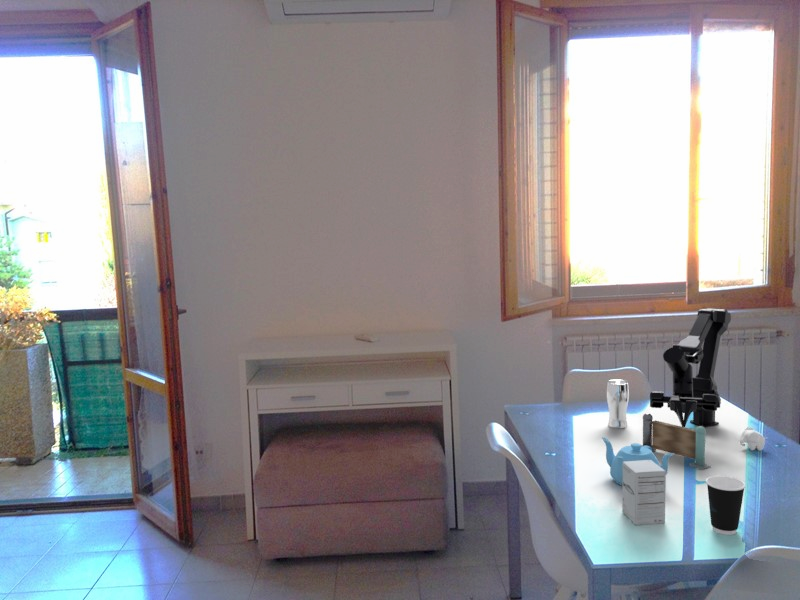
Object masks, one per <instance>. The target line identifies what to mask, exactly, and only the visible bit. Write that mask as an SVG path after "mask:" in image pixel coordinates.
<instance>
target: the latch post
mask: <svg viewBox="0 0 800 600" xmlns="http://www.w3.org/2000/svg"><path fill="white" fill-rule="evenodd" d="M694 430H695V431H696V451H695V459H694V460H695V462H691V463H689V464H688V466H690V467H692V468H695V469H698V470H700V471H702V470H706V469H710V468H712V465H710V464H707V463H706V432H707V431H706V427H704V426H701V425H698V426H697V427H696V428H695V429H694Z"/></svg>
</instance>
